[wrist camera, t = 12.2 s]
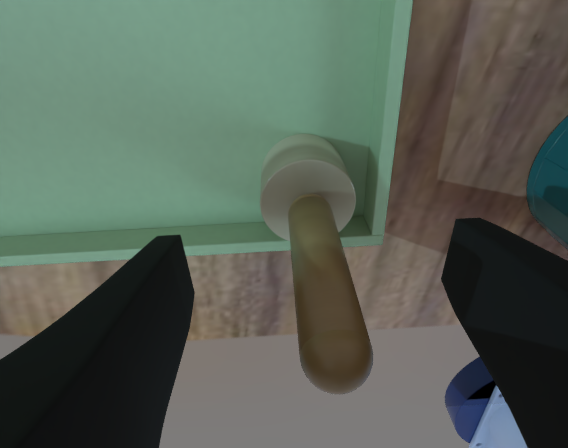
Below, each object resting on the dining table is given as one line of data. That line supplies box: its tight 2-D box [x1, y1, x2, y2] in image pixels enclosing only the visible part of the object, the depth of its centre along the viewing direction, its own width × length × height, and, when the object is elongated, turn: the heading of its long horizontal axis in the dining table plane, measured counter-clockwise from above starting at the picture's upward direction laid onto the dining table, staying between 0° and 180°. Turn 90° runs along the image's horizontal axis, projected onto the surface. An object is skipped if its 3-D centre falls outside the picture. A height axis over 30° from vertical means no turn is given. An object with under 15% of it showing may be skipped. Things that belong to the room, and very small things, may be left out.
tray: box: [0, 0, 413, 267], centre depth 12 cm, size 13×25×2 cm, turn 93°
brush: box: [260, 134, 373, 394], centre depth 10 cm, size 3×3×9 cm
